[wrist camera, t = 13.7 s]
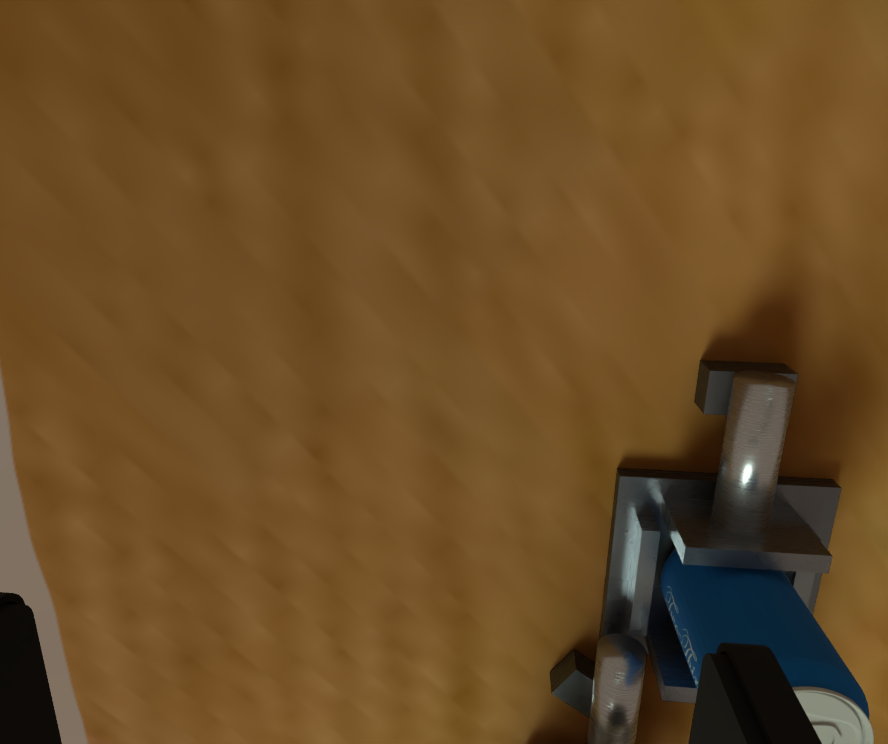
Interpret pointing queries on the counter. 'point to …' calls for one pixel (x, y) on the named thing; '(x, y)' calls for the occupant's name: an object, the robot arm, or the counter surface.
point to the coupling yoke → (698, 544)
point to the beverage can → (766, 639)
